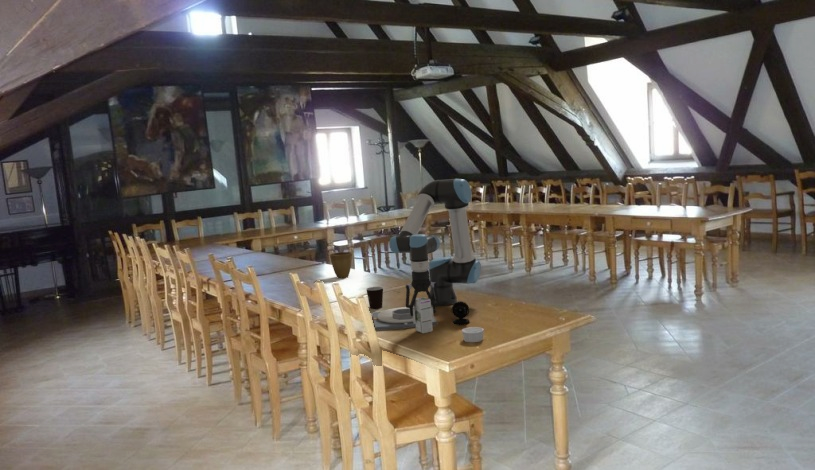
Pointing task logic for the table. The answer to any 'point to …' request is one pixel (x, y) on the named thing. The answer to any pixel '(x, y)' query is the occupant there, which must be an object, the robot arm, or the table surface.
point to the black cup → (375, 297)
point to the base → (385, 326)
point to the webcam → (460, 313)
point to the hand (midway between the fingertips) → (423, 322)
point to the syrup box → (423, 315)
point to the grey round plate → (396, 315)
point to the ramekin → (473, 334)
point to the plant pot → (341, 263)
